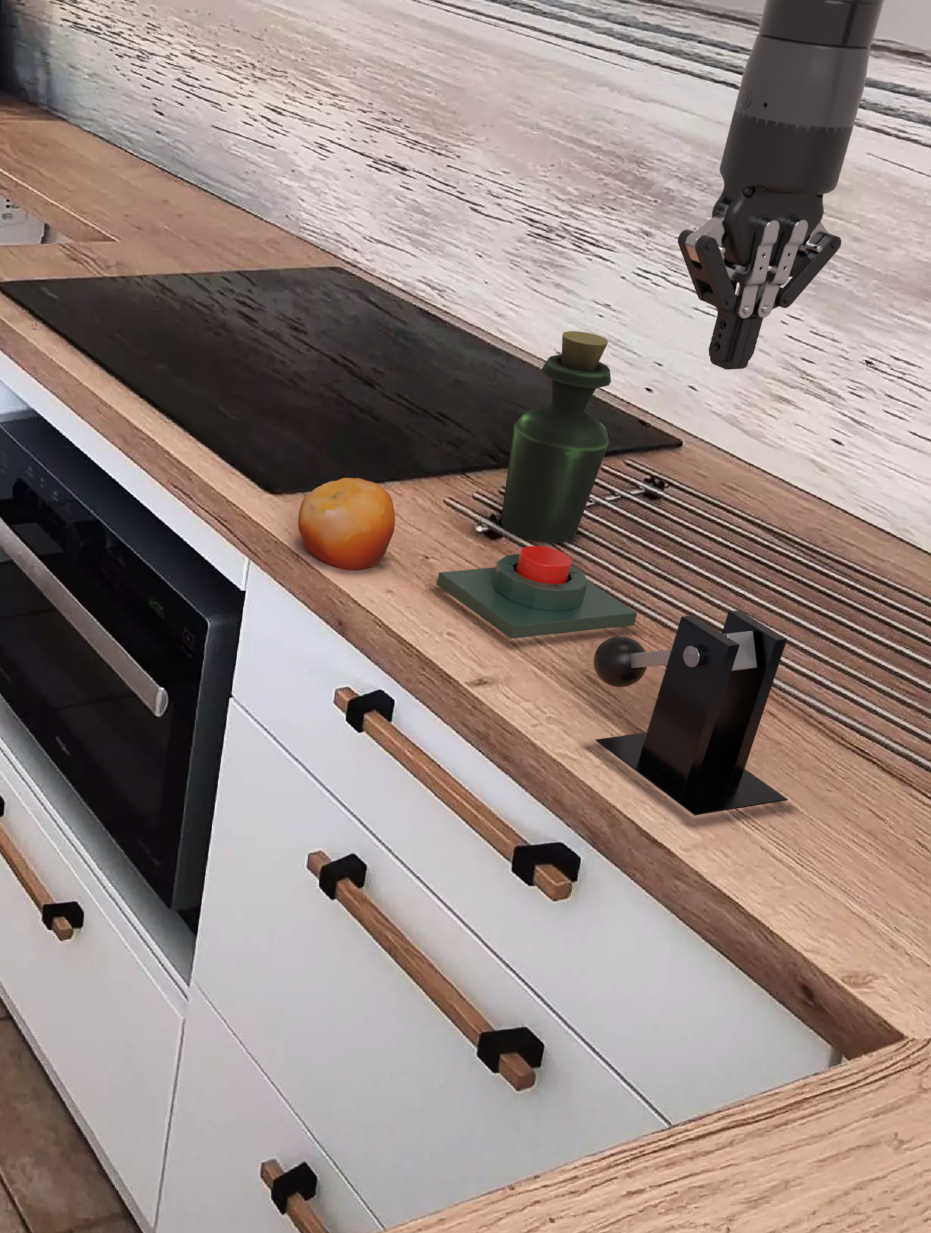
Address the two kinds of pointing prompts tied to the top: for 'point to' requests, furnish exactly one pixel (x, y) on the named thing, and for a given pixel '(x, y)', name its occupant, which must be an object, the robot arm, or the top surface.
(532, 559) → the button
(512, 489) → the potion bottle
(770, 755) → the top surface
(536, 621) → the button box
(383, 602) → the top surface
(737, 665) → the switch lever
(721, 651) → the switch bracket
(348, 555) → the fruit
